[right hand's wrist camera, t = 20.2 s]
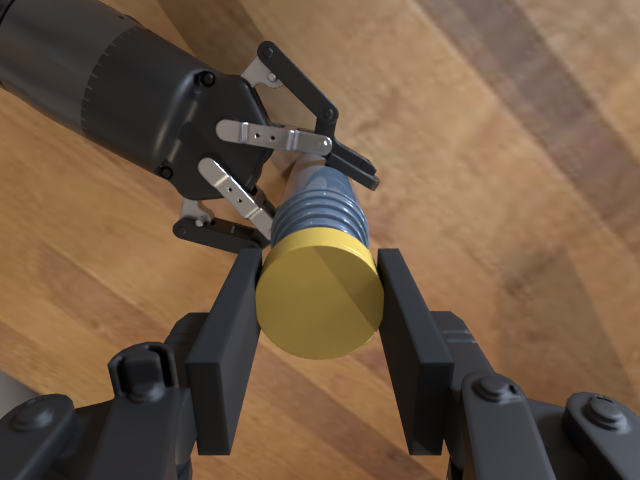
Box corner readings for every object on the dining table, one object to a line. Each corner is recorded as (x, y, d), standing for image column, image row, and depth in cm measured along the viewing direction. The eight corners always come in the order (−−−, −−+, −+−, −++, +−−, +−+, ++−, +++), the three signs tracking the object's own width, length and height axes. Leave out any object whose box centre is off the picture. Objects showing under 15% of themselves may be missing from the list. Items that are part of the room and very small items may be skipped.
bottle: (341, 142, 31) (373, 214, 13) (355, 200, 33) (400, 337, 15) (282, 157, 32) (231, 249, 13) (299, 213, 33) (273, 364, 15)
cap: (350, 207, 14) (354, 222, 12) (395, 306, 15) (404, 333, 14) (239, 255, 14) (229, 277, 13) (292, 346, 16) (289, 376, 14)
